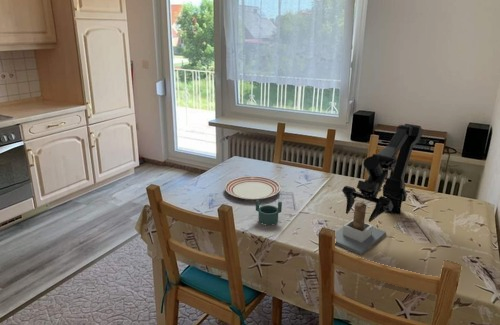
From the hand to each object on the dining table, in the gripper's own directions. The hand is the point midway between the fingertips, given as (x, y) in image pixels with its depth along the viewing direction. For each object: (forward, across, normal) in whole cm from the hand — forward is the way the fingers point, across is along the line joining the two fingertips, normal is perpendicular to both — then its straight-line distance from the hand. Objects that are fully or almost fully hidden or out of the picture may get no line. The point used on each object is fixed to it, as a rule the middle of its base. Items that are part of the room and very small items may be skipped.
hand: (357, 217), depth 135 cm
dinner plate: (+3, -58, +10) cm, 59 cm away
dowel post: (+5, 0, +6) cm, 8 cm away
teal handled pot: (+15, -33, -2) cm, 37 cm away
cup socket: (+6, 0, +7) cm, 9 cm away
